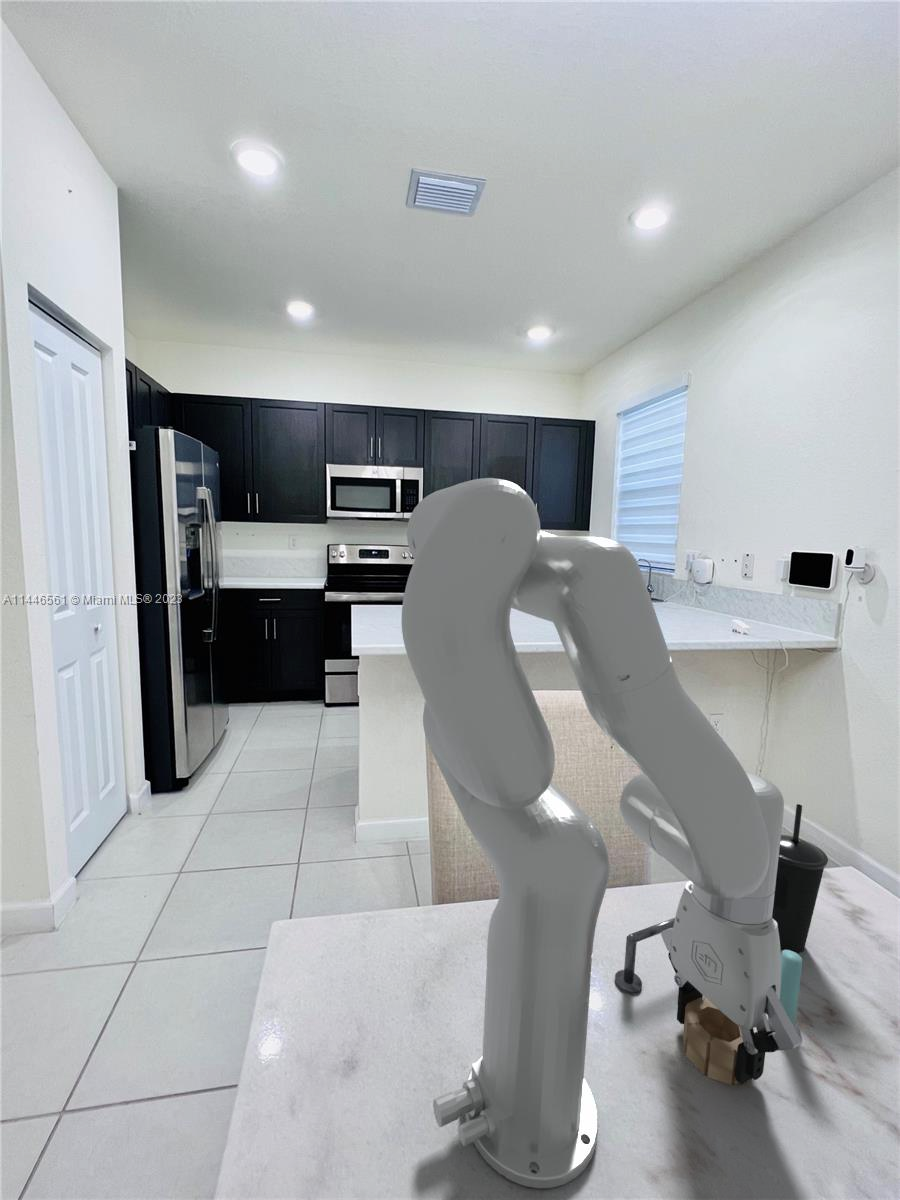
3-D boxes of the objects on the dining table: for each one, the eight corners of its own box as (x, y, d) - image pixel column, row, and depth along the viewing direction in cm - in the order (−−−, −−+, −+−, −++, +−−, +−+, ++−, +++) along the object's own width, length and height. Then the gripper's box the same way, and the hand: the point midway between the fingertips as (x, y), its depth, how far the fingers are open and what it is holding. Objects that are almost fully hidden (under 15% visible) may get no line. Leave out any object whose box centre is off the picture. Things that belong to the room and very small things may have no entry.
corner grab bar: (659, 1031, 60) (664, 979, 60) (609, 977, 68) (612, 929, 67) (749, 988, 67) (754, 940, 66) (694, 943, 74) (698, 899, 74)
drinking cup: (827, 966, 71) (845, 823, 69) (764, 955, 72) (779, 815, 70) (802, 926, 78) (817, 796, 76) (745, 917, 80) (758, 789, 78)
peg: (788, 1046, 59) (797, 971, 58) (761, 1022, 62) (769, 950, 61) (806, 1035, 61) (815, 962, 60) (779, 1012, 64) (786, 942, 63)
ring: (721, 1093, 54) (724, 1061, 53) (670, 1039, 60) (673, 1010, 59) (763, 1069, 57) (766, 1038, 56) (710, 1019, 62) (713, 991, 62)
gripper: (642, 854, 62) (631, 995, 64) (791, 962, 47) (771, 1143, 49) (688, 841, 65) (677, 975, 67) (842, 938, 50) (821, 1109, 52)
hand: (716, 1044), depth 58 cm, fingers open, 6 cm apart
